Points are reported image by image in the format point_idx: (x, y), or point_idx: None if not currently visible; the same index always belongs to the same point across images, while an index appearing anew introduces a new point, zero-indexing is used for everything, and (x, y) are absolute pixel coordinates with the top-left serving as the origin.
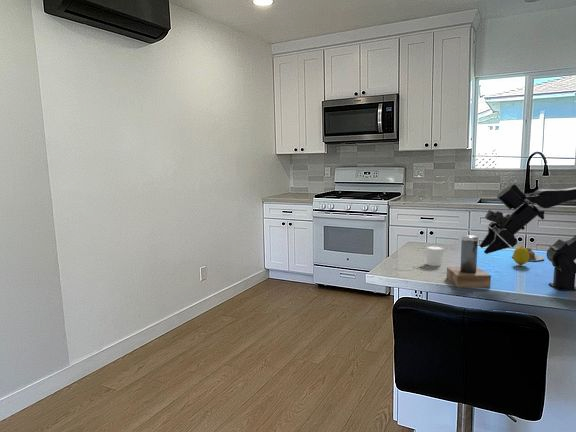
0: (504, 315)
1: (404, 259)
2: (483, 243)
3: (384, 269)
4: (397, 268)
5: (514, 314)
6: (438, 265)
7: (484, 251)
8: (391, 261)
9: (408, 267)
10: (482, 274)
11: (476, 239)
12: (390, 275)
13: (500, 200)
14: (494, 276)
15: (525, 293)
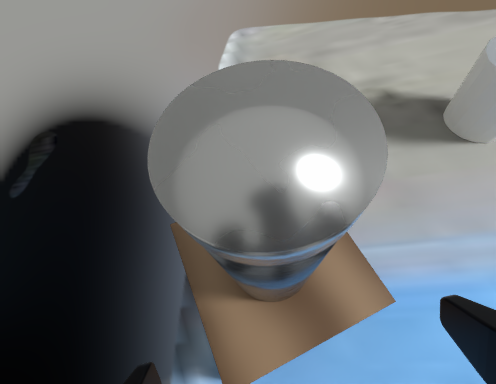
0: None
1: (459, 41)
2: (492, 347)
3: (300, 36)
4: (331, 54)
5: None
6: (461, 136)
7: (134, 370)
8: (402, 25)
9: (362, 71)
10: (234, 340)
11: (199, 241)
12: (247, 60)
13: None
14: None
15: None
